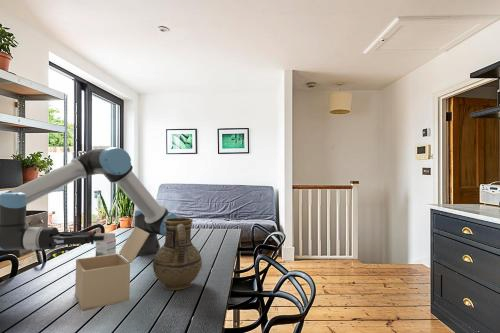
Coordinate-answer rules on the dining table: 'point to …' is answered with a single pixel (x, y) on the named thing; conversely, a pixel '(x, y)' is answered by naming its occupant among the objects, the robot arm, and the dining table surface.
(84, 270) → the carton
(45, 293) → the dining table surface
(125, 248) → the lid flap
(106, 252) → the syrup box
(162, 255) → the decorative pitcher
